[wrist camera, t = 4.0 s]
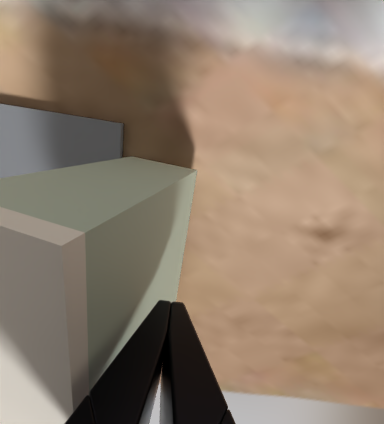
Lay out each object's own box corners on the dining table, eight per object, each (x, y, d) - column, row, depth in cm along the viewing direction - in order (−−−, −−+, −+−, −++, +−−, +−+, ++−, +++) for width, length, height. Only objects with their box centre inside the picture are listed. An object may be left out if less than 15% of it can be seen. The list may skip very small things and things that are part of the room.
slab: (197, 170, 11) (61, 245, 3) (176, 300, 14) (78, 490, 6) (131, 156, 11) (-96, 194, 4) (125, 282, 14) (-16, 435, 7)
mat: (123, 123, 11) (121, 123, 10) (116, 300, 15) (114, 304, 14) (-93, 88, 10) (-104, 86, 10) (-39, 279, 14) (-46, 284, 14)
